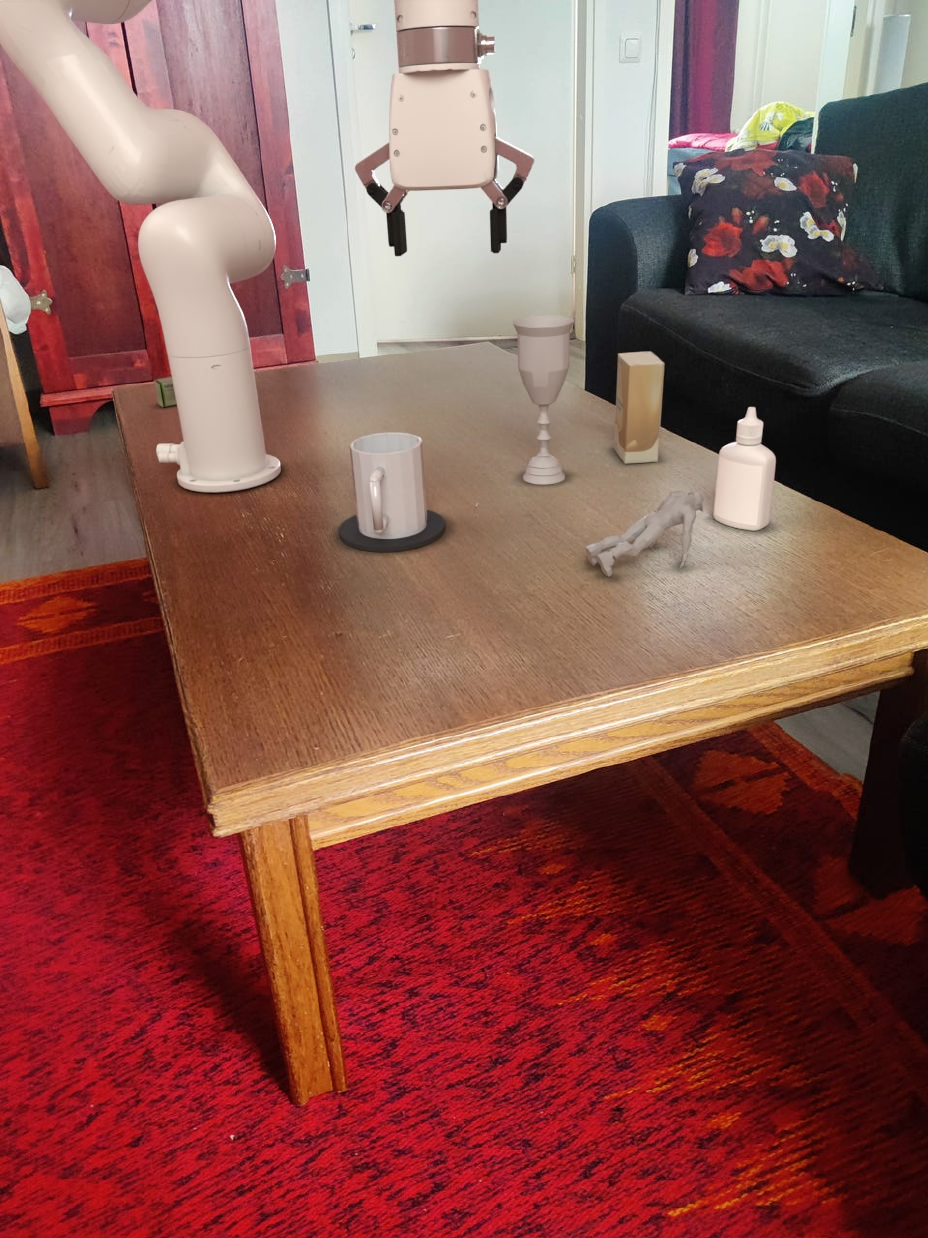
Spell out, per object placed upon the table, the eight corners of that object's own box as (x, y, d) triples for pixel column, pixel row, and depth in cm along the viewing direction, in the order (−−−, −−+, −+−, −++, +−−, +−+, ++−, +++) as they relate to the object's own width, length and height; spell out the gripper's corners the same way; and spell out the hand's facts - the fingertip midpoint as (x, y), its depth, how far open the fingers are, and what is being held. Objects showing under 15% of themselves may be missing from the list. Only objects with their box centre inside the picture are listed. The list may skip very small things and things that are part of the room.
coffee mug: (366, 513, 103) (359, 432, 99) (432, 513, 102) (426, 432, 98) (344, 551, 94) (334, 464, 90) (415, 551, 93) (409, 464, 89)
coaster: (327, 551, 96) (326, 546, 96) (353, 511, 106) (352, 506, 105) (436, 553, 94) (436, 547, 94) (452, 511, 104) (452, 506, 104)
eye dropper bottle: (734, 535, 95) (745, 417, 89) (708, 516, 100) (717, 403, 94) (774, 529, 96) (787, 412, 90) (746, 510, 101) (757, 398, 95)
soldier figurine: (624, 605, 88) (730, 541, 89) (607, 559, 85) (717, 493, 86) (591, 579, 93) (692, 518, 94) (574, 535, 90) (678, 473, 91)
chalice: (569, 488, 109) (570, 327, 101) (510, 486, 110) (507, 327, 102) (575, 467, 115) (577, 314, 107) (520, 466, 117) (517, 315, 108)
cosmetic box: (612, 449, 121) (616, 352, 115) (646, 447, 121) (651, 349, 116) (624, 465, 115) (628, 363, 110) (659, 462, 116) (665, 361, 110)
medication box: (162, 408, 149) (158, 383, 147) (156, 403, 151) (151, 379, 149) (233, 392, 155) (230, 368, 153) (226, 388, 157) (223, 364, 155)
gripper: (535, 51, 89) (537, 245, 97) (356, 61, 91) (371, 251, 99) (530, 46, 83) (532, 255, 90) (336, 57, 85) (355, 260, 93)
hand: (448, 252), depth 95 cm, fingers open, 9 cm apart
